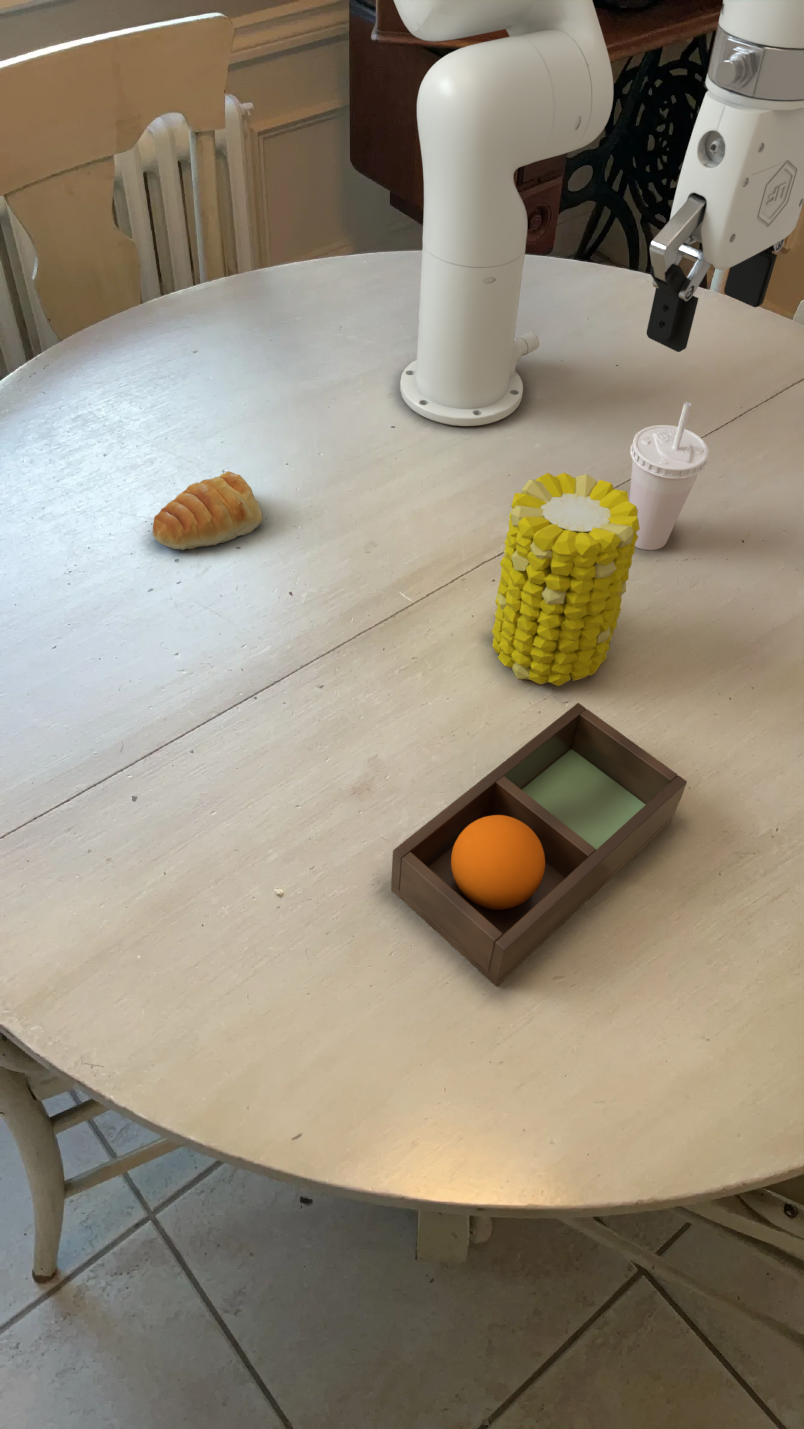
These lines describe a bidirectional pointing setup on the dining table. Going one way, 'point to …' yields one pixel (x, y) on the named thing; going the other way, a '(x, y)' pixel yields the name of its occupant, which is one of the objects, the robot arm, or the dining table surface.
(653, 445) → the smoothie
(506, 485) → the dining table surface
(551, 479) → the food
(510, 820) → the clementine
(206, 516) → the pastry
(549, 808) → the tray
